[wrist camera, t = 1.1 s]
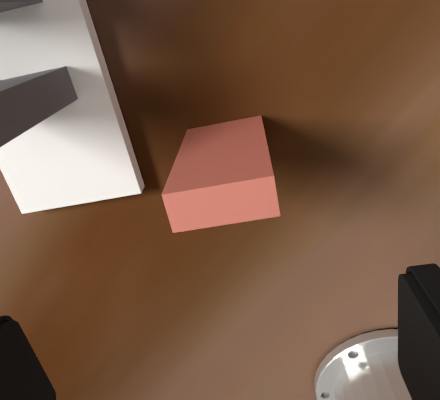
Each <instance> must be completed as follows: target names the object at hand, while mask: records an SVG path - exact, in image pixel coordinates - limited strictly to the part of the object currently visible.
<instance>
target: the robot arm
mask: <svg viewBox="0 0 440 400" xmlns="http://www.w3.org/2000/svg"><path fill="white" fill-rule="evenodd" d="M314 385H315V393H316V397H317V400H440V268H439V267H438V266H437V265H436V264H426V265H418V266H409V267H407V269H406V274H400V275H399V277H398V329H386V330H378V331H372V332H368V333H365V334H361V335H358V336H356V337H354V338H351V339H349V340H347V341H345V342H344V343H342V344H340V345H339V346H337V347H336V348H334V349H333V350H332V351H331V352H330V353H329V354H327V356H326V357H325V358H324V359H323V361H322V362H321V363H320V365H319V367H318V369H317V371H316V375H315V380H314ZM0 400H56V393H55V390H54V388H53V386H52V385H51V383H50V381H49V379H48V377H47V375H46V373H45V371H44V370H43V368H42V366H41V364H40V362H39V360H38V358H37V357H36V355H35V353H34V351H33V349H32V347H31V345H30V344H29V342H28V340H27V338H26V336H25V334H24V332H23V330H22V329H21V327H20V325H19V323H18V322H17V321H14V320H13V319H12V318H11V317H9V316H0Z"/></svg>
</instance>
